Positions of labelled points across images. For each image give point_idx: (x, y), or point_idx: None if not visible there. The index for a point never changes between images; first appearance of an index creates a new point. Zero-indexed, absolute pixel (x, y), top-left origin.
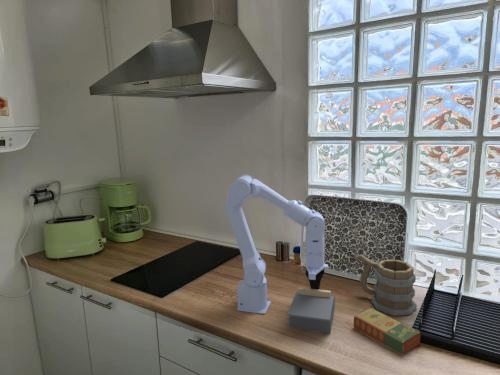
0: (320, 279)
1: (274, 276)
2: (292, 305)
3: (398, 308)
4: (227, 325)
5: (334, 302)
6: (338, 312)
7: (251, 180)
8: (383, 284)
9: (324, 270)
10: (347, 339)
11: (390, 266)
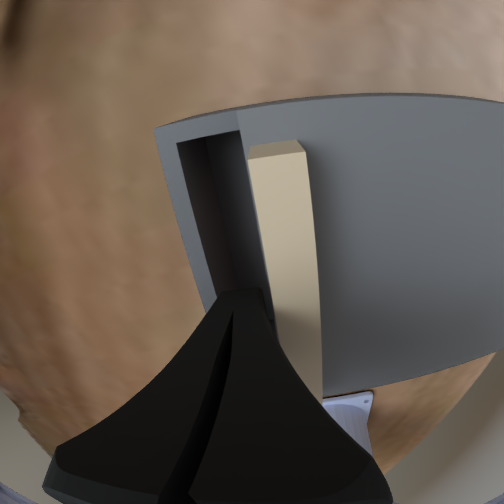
0: (329, 418)
1: (90, 417)
2: (463, 357)
3: None
4: (435, 416)
5: (187, 118)
6: (218, 81)
7: None
8: None
9: (87, 494)
10: (473, 16)
11: None
